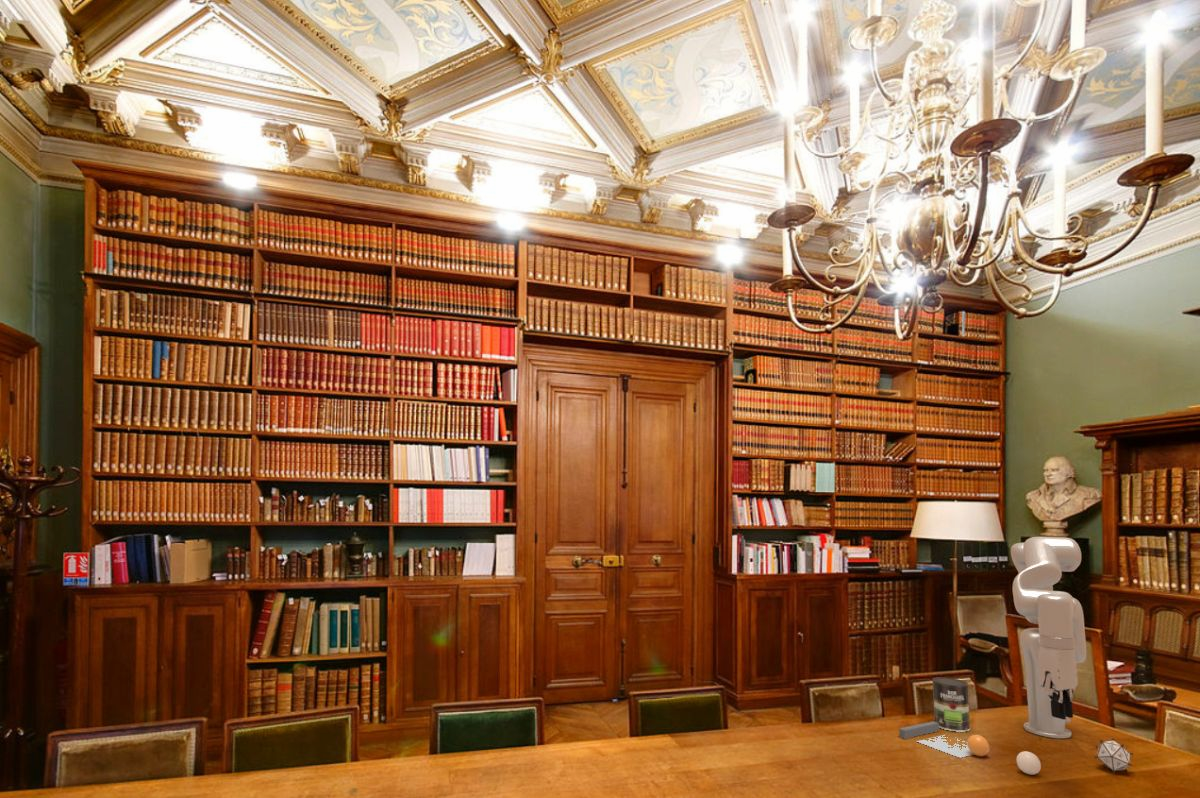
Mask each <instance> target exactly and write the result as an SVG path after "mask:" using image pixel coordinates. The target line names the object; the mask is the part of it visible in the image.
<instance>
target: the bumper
mask: <svg viewBox="0 0 1200 798" xmlns="http://www.w3.org/2000/svg"><path fill="white" fill-rule="evenodd" d="M937 731H939V732H940V728H939V723H936V722H935V721H933V720H932V721H929V722H924V723H919V724H913V725H910V726H905V727H900V728H898V734H899V738H900V737H901V739H903V738H904V739H903V740H907V738H908V739H911V738H910V737H913V738H915V737H914V736H917V737H919V736H918V735H922V736H924V735H923V734H926V735H929V734H928V733H931V734H934V733H933V732H935V733H938V732H937Z"/></svg>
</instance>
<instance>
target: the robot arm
mask: <svg viewBox="0 0 1200 798" xmlns="http://www.w3.org/2000/svg"><path fill="white" fill-rule="evenodd" d="M1081 550H1082V549H1081V548H1080V546H1079V544H1078V542H1076V540H1075V539H1073V538H1069V537H1058V536H1057V537H1056V536H1032V537H1029V538H1027V539H1026V540H1025V541H1024V542H1018V543H1014V544H1013V545H1012V546H1011V548H1010V555H1011V559H1012V562H1013V565H1014V567H1015V569H1016V570H1017V572H1018V574H1017V575H1016V576H1015V577H1014V579H1013V582H1012V596H1013V603H1014V607H1015V610H1016V611H1017V613H1018V614H1019V615H1020V616H1023V617H1025V619H1026V620H1027V621H1028V622H1029V623H1030V624H1034V625H1038V627H1028V628H1025V629H1024V630H1022V631H1021V633H1020V637H1019V638H1020V645H1021V650H1022V655H1023V659H1024V668H1025V680H1026V693H1027V694H1026V695H1027V708H1028V721H1027V722H1024V723H1023V728H1024V730H1025V731H1026V732H1029V733H1031V734H1034V735H1037V736H1041V737H1045V738H1052V739H1069V738H1071V737H1072V731H1071V730H1070V729H1068V728H1067V727H1066V724H1069V723H1071V718H1074V712H1073V711H1074V709H1073V700H1074V698H1073V694H1074V691H1075V690H1076V689H1077V687H1078V685H1079V682H1078V681H1079V678H1078V668H1077V664H1082V663H1084V662H1085V661H1086V659H1087V641H1086V640H1087V639H1086V632H1085V631H1086V630H1085V617H1084V616H1085V615H1084V610H1083V606H1082V604H1081V603H1080V601H1079V600H1078V599H1077V598H1075V597H1073V596H1072V595H1071V594H1070V593H1069V592H1066V591H1060V590H1054V587H1053V586H1054V585H1055V584H1057V583H1059V581H1060V580H1061V578H1062V575H1063V574H1062V572H1064V573H1065V572H1068V573H1069V572H1070V573H1071V572H1075V570H1077V568H1078V567H1079V566H1080V565H1081V562H1082V551H1081Z"/></svg>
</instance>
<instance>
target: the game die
mask: <svg viewBox="0 0 1200 798" xmlns="http://www.w3.org/2000/svg"><path fill="white" fill-rule="evenodd" d="M1099 742H1100V744H1099V745H1097V744H1096V745H1094V746H1095V748H1097V751H1096V752H1097V753H1096V755H1094V756H1093V758H1094V759H1098V760H1099V761H1100V762H1101V763H1102V764H1103V765H1102V767H1103V766H1105V767H1107V768H1108V769H1110V770H1111V771H1112V774H1113V773H1114V774H1113V775H1115V774H1116V772H1118V771H1123V770H1124V772H1126V773H1127V772H1128V770H1127V768H1128V767H1129V766H1131V767H1133V766H1134V765H1133V763H1131V756H1134V753H1133V752H1129V751H1128V750H1127V749H1126V748H1125V747H1124V746H1125V744H1124V743H1122V744H1120V743H1119V742H1117V741H1115V738H1114V737H1111V740H1106V741H1105V740H1104V741H1103V740H1102V738H1099Z"/></svg>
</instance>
